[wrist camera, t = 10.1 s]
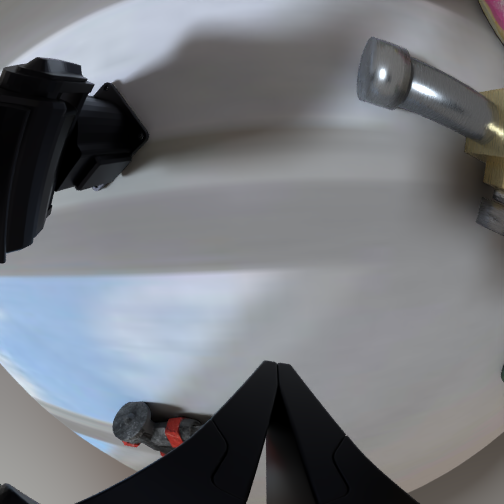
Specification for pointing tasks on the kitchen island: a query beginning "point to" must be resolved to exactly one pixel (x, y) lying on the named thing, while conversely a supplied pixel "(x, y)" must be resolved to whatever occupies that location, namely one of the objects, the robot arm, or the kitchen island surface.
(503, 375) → the coffee jar
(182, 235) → the kitchen island surface
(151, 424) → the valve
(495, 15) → the donut
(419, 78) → the pipe valve
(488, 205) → the chisel
